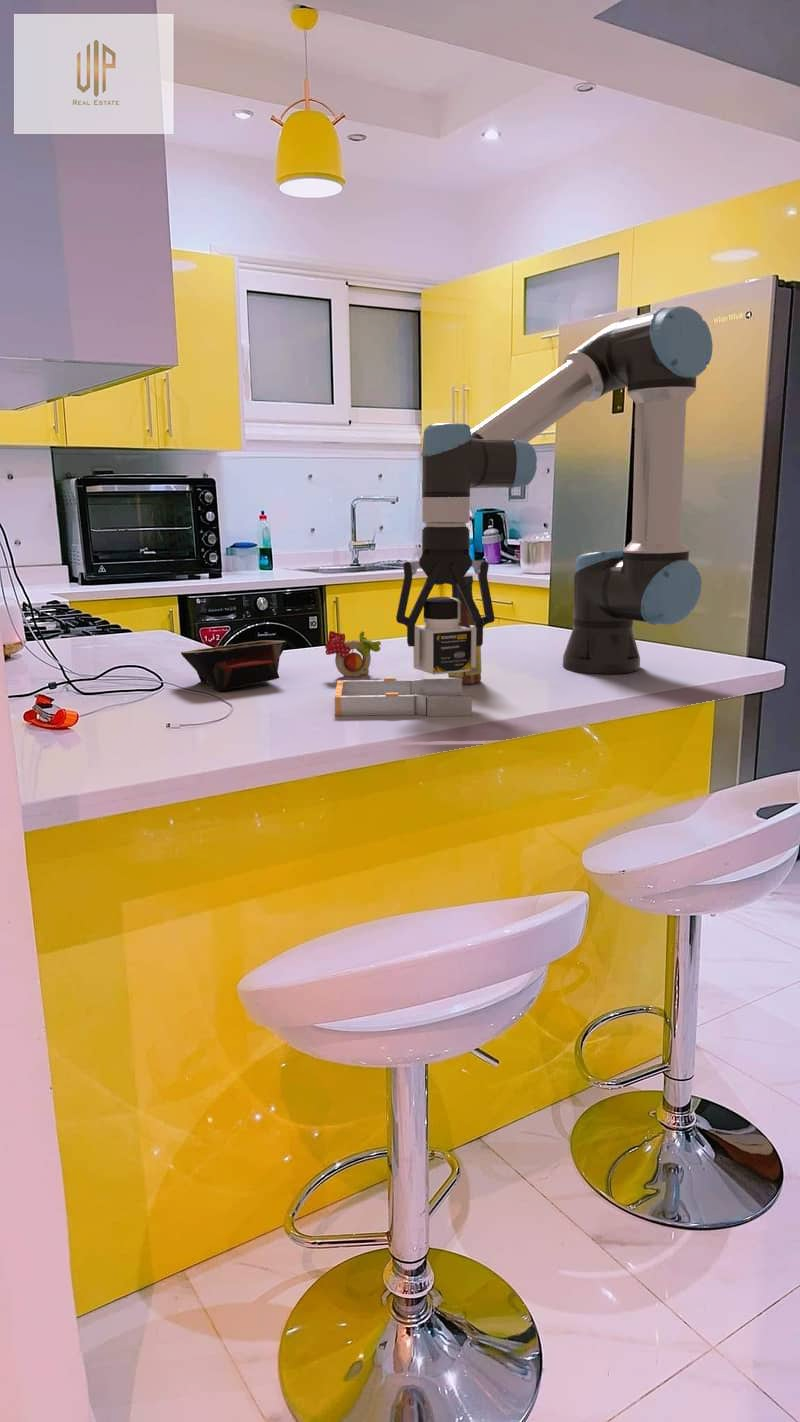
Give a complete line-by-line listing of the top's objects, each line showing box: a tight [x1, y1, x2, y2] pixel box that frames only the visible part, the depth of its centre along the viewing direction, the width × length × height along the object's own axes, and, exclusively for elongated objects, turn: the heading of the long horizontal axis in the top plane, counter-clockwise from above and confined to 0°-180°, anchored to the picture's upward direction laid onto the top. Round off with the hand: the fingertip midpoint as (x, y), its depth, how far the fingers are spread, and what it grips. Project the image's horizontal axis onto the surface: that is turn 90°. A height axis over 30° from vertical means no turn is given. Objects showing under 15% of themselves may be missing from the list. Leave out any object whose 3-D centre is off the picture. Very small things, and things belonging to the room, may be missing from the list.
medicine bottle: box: [412, 596, 471, 676], centre depth 151 cm, size 7×7×12 cm
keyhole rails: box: [334, 676, 473, 717], centre depth 152 cm, size 22×16×3 cm
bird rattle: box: [324, 630, 382, 678], centre depth 176 cm, size 6×11×9 cm, turn 126°
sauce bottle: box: [447, 574, 482, 686], centre depth 169 cm, size 6×6×20 cm
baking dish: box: [180, 640, 288, 692], centre depth 169 cm, size 14×18×10 cm
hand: (444, 665), depth 151 cm, fingers closed on medicine bottle, 8 cm apart
